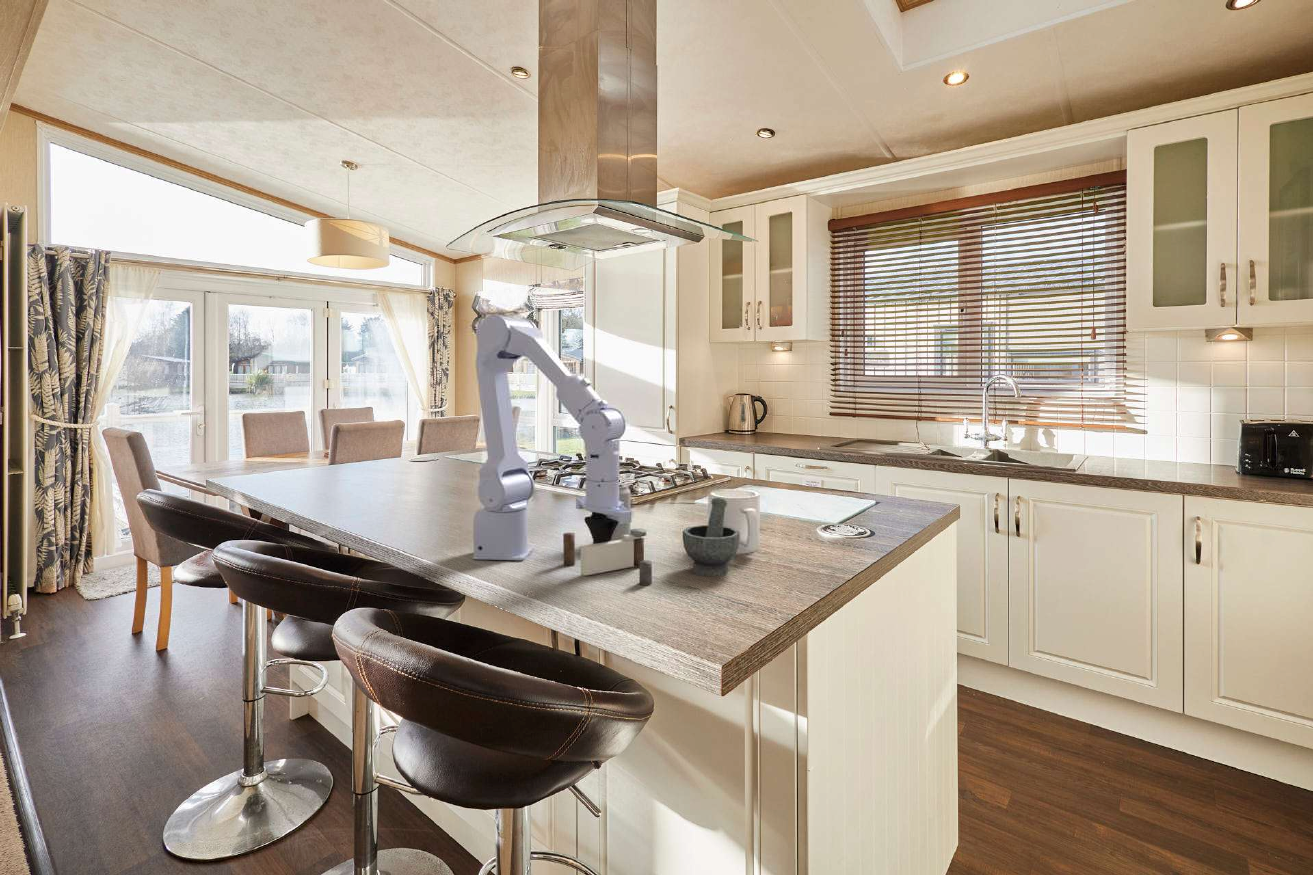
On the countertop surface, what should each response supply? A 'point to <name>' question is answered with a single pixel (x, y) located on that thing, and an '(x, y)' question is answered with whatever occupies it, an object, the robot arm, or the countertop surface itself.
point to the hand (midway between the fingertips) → (602, 556)
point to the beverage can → (625, 497)
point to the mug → (740, 515)
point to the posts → (644, 566)
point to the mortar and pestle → (712, 542)
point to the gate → (610, 554)
